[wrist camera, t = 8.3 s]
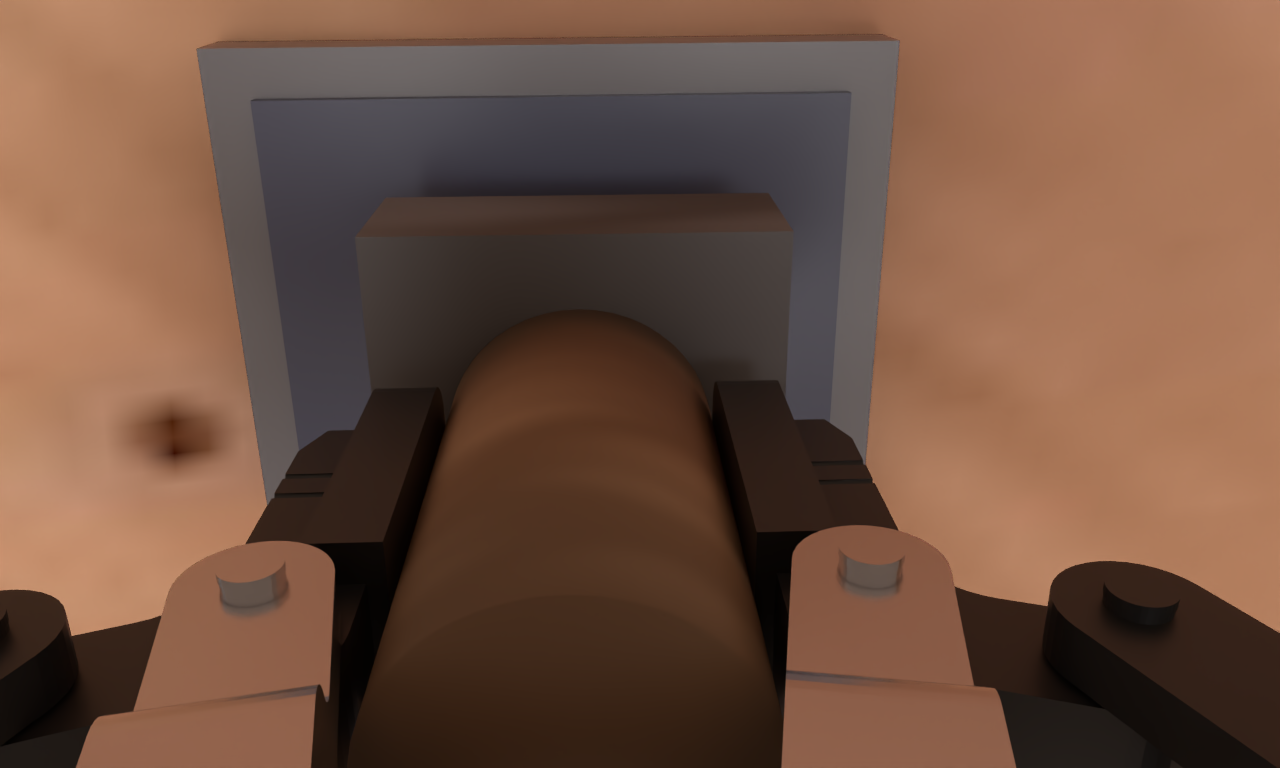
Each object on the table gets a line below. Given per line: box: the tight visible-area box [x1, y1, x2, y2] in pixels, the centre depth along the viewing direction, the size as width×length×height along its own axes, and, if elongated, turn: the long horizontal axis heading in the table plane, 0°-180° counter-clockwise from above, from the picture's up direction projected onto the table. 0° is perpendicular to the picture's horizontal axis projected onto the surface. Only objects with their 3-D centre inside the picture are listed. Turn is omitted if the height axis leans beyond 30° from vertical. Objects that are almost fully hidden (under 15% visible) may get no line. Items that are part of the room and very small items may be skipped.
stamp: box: [347, 193, 794, 768], centre depth 12 cm, size 5×5×8 cm
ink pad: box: [197, 34, 900, 505], centre depth 18 cm, size 10×8×1 cm
